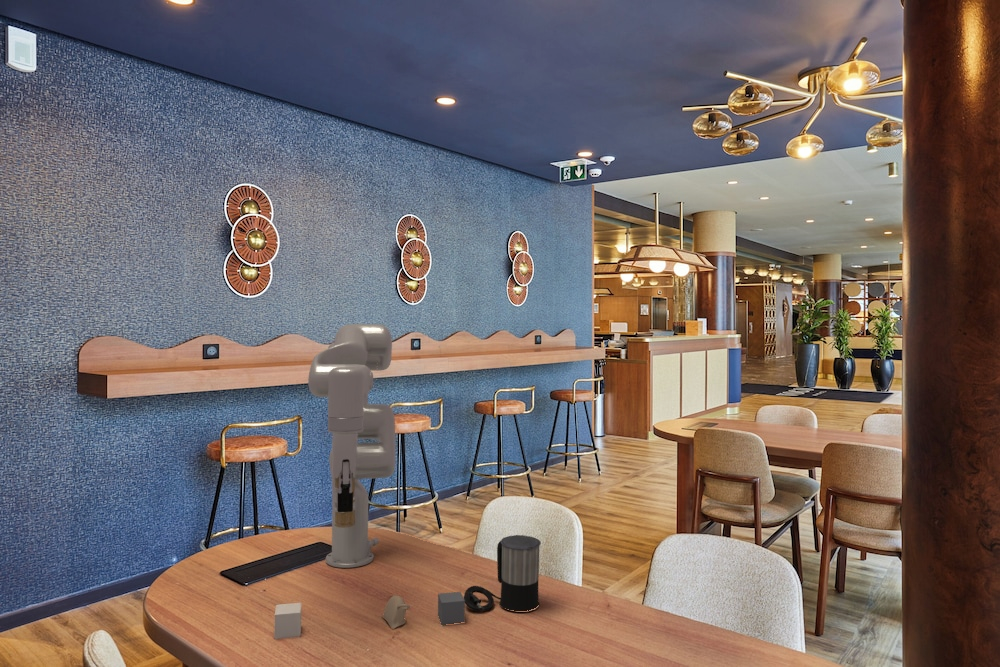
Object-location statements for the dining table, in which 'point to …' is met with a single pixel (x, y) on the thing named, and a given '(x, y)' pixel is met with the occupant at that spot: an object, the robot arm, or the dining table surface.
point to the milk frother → (512, 576)
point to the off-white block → (287, 620)
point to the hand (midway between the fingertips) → (344, 507)
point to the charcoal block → (451, 608)
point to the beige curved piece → (395, 611)
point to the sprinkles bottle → (344, 517)
